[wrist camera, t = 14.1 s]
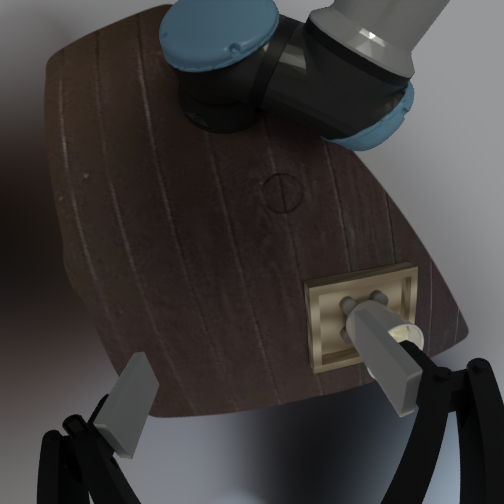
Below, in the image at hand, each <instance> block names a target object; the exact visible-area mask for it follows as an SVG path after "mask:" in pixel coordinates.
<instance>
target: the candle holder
mask: <svg viewBox="0 0 504 504" xmlns="http://www.w3.org/2000/svg"><path fill="white" fill-rule="evenodd" d="M365 308H366V309H367V310H368V312H369V313H370V314H371V315H372V316H373V317H374V318H375V319H376V320H377V321H378V322H379V323H380V324H381V325H382V326H383V327H384V328H385V329H386V330H387V331H388V332H389V334H390V335H391V336H392V337H393V338H394V339H395V340H396V341H397V342H398V343H399V342H402V341H404V340H408V341H410V342H413V343H415V344H416V345H417V346H418V347H419V349H421V350H422V349H423V344H424V338H423V334H422V331H421V330H420V329H419V328H418V327H417V326H416V325H414V324H412V323H411V322H409V321H408V320H406V319H405V318H403V317H402V316H400V315H399V314H397V313H396V312H394V311H393V310H391V309H390V308H388V307H387V306H385V305H384V304H382V303H380V302H378V301H375V300H368V301H364V302H362V303H360V304H358V305H357V306H356V307H355V308H354V309H353V310H352V311H351V312H350V314H349V316H348V318H347V321H346V331H347V334H348V336H349V338H350V340H351V341H352V343H353V345H354V347H355V348H356V337H355V318H354V312H355V311H358V310H362V309H365ZM357 352H358V351H357ZM358 354H359V353H358ZM359 355H360V354H359ZM360 357H361V356H360ZM361 359H362V357H361ZM362 360H363V359H362ZM363 362H364V360H363ZM364 364H365V366H366V368H367V369H368V372H369V374H370V375H371V376H372V377H373V378H374V379H376V378H375V377H374V375H373V374H372V372H371V371H370V369H369V368H368V366H367V365H366V363H365V362H364Z"/></svg>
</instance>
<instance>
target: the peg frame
mask: <svg viewBox="0 0 504 504" xmlns="http://www.w3.org/2000/svg"><path fill="white" fill-rule="evenodd" d="M417 279H418V267H417V266H415V265H413V264H411V263H409V262H402V263H397V264H393V265H388V266H382V267H377V268H372V269H367V270H362V271H356V272H351V273H345V274H340V275H334V276H329V277H323V278H317V279H311V280H305V281H304V291H305V302H306V315H307V329H308V344H309V361H310V364H311V367H312V369H313V372H314V373H318V372H323V371H327V370H332V369H336V368H340V367H344V366H348V365H352V364H356V363H360V362H363V360H362V359H361V357H360V355H359V354H358V352H357V350H356V348H355V347H354V345H353V343H352V341H351V340H350V338H349V336H348V334H347V331H346V321H347V318H348V316H349V314H350V312H351V311H352V310H353V309H354V308H355V307H356V306H357V305H358V304H360V303H362V302H364V301H368V300H375V301H378V302H380V303H382V304H384V305H385V306H387V307H388V308H390V309H391V310H393V311H394V312H396V313H397V314H399V315H400V316H402V317H403V318H405V319H406V320H408V321H409V322H411V323H412V324H414V321H415V311H416V298H417Z"/></svg>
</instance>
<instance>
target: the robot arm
mask: <svg viewBox="0 0 504 504" xmlns="http://www.w3.org/2000/svg"><path fill="white" fill-rule="evenodd" d="M449 1H450V0H335V1H334V3H333V4H332V5H331V6H329V7H325V8H321V9H317V10H313V11H311V13H310V14H309V17H308V19H307V21H306V23H302V22H300V21H297V20H294V19H292V18H289V17H286V16H284V15H281V14H279V11H278V8H277V7H276V4H275V2H274V1H272V0H179V1H177V2H176V3H175V4H174V5H173V6H172V7H171V8H170V9H169V10H168V12H167V13H166V14H165V16H164V18H163V20H162V22H161V25H160V30H159V39H160V43H161V46H162V48H163V53H164V57H165V59H166V61H167V62H168V63H169V64H170V66H171V68H172V69H173V71H174V73H175V74H176V76H177V78H178V79H179V81H180V83H179V89H178V96H179V102H180V105H181V107H182V109H183V111H184V113H185V114H186V116H187V117H188V118H189V119H190V120H191V121H192V122H193V123H194V124H195V125H197V126H198V127H200V128H202V129H204V130H206V131H209V132H214V133H234V132H238V131H241V130H244V129H246V128H248V127H250V126H252V125H253V124H255V123H256V122H257V121H258V120H260V119H261V117H262V116H263V115H264V114H265V112H266V111H267V112H269V113H272V114H274V115H276V116H279V117H281V118H283V119H286V120H288V121H290V122H292V123H295V124H297V125H299V126H301V127H303V128H305V129H308V130H310V131H312V132H314V133H316V134H318V135H320V136H321V137H322V138H323V139H324V140H326V141H330V142H334V143H337V144H339V145H341V146H343V147H345V148H347V149H349V150H353V151H365V150H369V149H372V148H374V147H376V146H378V145H380V144H381V143H382V142H384V141H385V140H386V139H388V138H389V137H390V136H391V135H392V134H393V133H394V132H395V131H396V130H397V129H398V128H399V126H400V125H401V124H402V122H403V121H404V115H405V114H406V113H407V112H409V111H410V108H411V106H412V104H413V100H414V88H413V85H412V84H411V82H410V79H411V77H412V76H413V75H414V73H415V70H414V66H413V62H412V58H411V51H412V50H413V49H414V47H415V46H416V45H417V43H418V42H419V41H420V39H421V38H422V37H423V35H424V34H425V33H426V31H427V30H428V29H429V28H430V26H431V25H432V24H433V22H434V21H435V20H436V18H437V17H438V16H439V14H440V13H441V12H442V10H443V9H444V8H445V6H446V5H447V4H448V2H449ZM354 318H355V337H356V350H357V351H358V353H359V354H360V356H361V357H362V359H363V360H364V362H365V363H366V365H367V366H368V368H369V369H370V371H371V372H372V374H373V375H374V377H375V378H376V380H377V382H378V383H379V385H380V386H381V387H382V389H383V391H384V392H385V394H386V395H387V397H388V399H389V400H390V402H391V403H392V405H393V406H394V408H395V410H396V411H397V413H398V415H399V416H400V417H403V416H405V415H407V414H410V413H412V412H414V410H415V405H416V404H417V406H418V407H419V410H418V413H417V417H416V420H415V423H414V426H413V429H412V432H411V435H410V438H409V441H408V443H407V446H406V449H405V451H404V454H403V456H402V459H401V461H400V464H399V466H398V468H397V471H396V473H395V475H394V478H393V480H392V482H391V484H390V486H389V488H388V490H387V492H386V494H385V496H384V498H383V500H382V502H381V504H422V502H423V499H424V497H425V494H426V492H427V489H428V486H429V483H430V481H431V478H432V474H433V472H434V469H435V465H436V462H437V459H438V455H439V452H440V448H441V444H442V440H443V436H444V432H445V427H446V422H447V417H448V413H449V412H454V411H456V416H457V425H458V434H459V448H460V477H461V478H460V504H504V404H503V401H502V397H501V394H500V391H499V388H498V385H497V382H496V379H495V376H494V373H493V370H492V368H491V365H490V363H489V362H488V361H487V360H485V359H482V358H475V359H472V360H471V361H469V362H468V364H467V367H466V369H464V370H459V371H454V372H452V371H451V370H450V369H448V368H446V367H437V366H436V365H435V364H434V363H433V362H432V361H431V360H430V359H429V358H428V357H427V356H426V354H425V353H423V351H422V350H421V349H419V347H418V346H417V345H416V344H415V343H413V342H410V341H408V340H404V341H402V342H399V343H398V342H397V341H396V340H395V339H394V338H393V337H392V336H391V335H390V334H389V332H388V331H387V330H386V329H385V328H384V327H383V326H382V325H381V324H380V323H379V322H378V321H377V320H376V319H375V318H374V317H373V316H372V315H371V314H370V313H369V312H368V310H367V309H366V308H365V309H362V310H358V311H355V312H354ZM158 387H159V383H158V381H157V379H156V377H155V375H154V372H153V370H152V368H151V366H150V364H149V362H148V359H147V357H146V355H145V353H144V352H139V353H134V354H133V356H132V357H131V359H130V360H129V362H128V364H127V365H126V367H125V369H124V370H123V372H122V374H121V375H120V377H119V379H118V381H117V382H116V384H115V386H114V387H113V389H112V391H111V392H110V394H106V395H105V396H104V397H103V398H102V399H101V400H100V402H99V403H98V406H97V407H96V408H95V411H94V412H93V413H92V415H91V417H90V419H89V420H88V422H87V423H86V422H85V421H84V419H83V418H82V416H81V415H78V414H74V415H71V416H69V417H67V418H66V419H65V420H64V422H63V424H62V426H63V428H64V429H65V431H66V432H67V433H68V436H62V435H61V434H60V433H59V431H57V430H50V431H48V432H47V433H45V435H44V436H43V439H42V445H41V452H40V460H39V470H38V483H37V504H90V500H89V493H90V495H91V498H92V500H93V502H94V504H141V503H140V501H139V500H138V498H137V497H136V495H135V493H134V492H133V490H132V488H131V487H130V485H129V483H128V482H127V480H126V478H125V477H124V474H123V473H122V471H121V469H120V467H119V465H118V463H117V461H116V460H115V458H114V457H113V454H114V451H115V452H116V453H117V455H118V456H119V457H120V458H128V459H132V458H133V455H134V452H135V449H136V446H137V444H138V441H139V438H140V435H141V433H142V430H143V427H144V424H145V422H146V419H147V416H148V414H149V411H150V408H151V406H152V403H153V400H154V398H155V395H156V393H157V390H158Z"/></svg>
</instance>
